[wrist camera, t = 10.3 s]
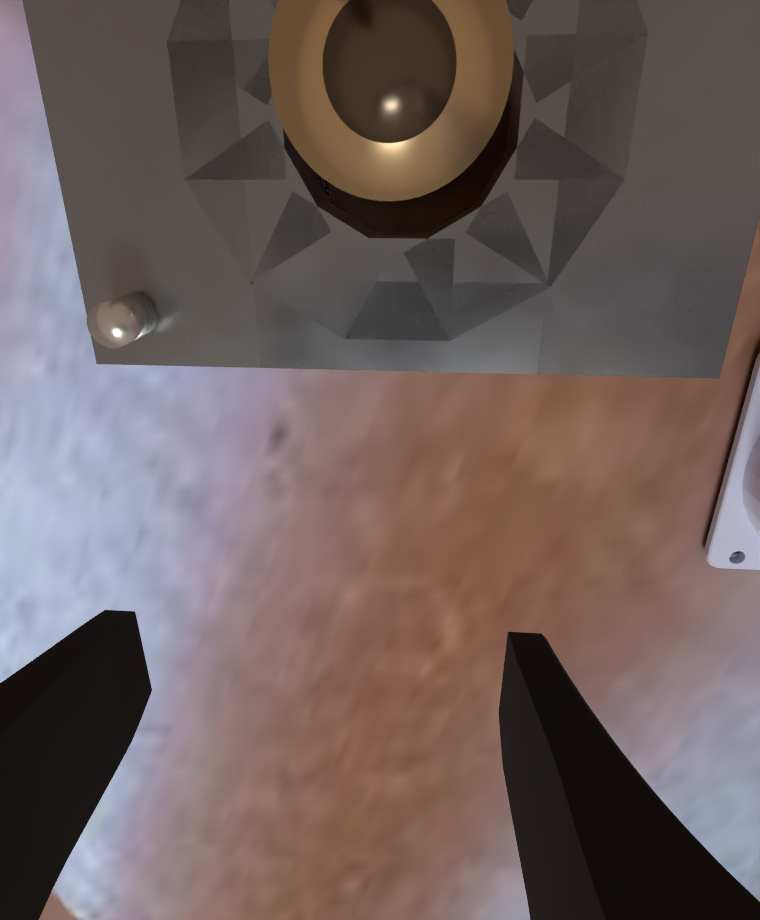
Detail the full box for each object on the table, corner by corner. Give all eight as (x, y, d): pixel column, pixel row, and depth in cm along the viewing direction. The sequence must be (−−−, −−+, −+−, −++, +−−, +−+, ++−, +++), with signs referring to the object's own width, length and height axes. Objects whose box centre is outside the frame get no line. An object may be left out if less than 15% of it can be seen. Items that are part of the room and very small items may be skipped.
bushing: (497, 21, 16) (538, -80, 10) (470, 203, 17) (490, 213, 11) (331, 5, 16) (269, -105, 10) (321, 187, 18) (265, 188, 12)
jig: (812, -216, 13) (955, -368, 10) (685, 356, 19) (746, 397, 15) (41, -181, 15) (-89, -302, 11) (133, 344, 20) (67, 379, 16)
